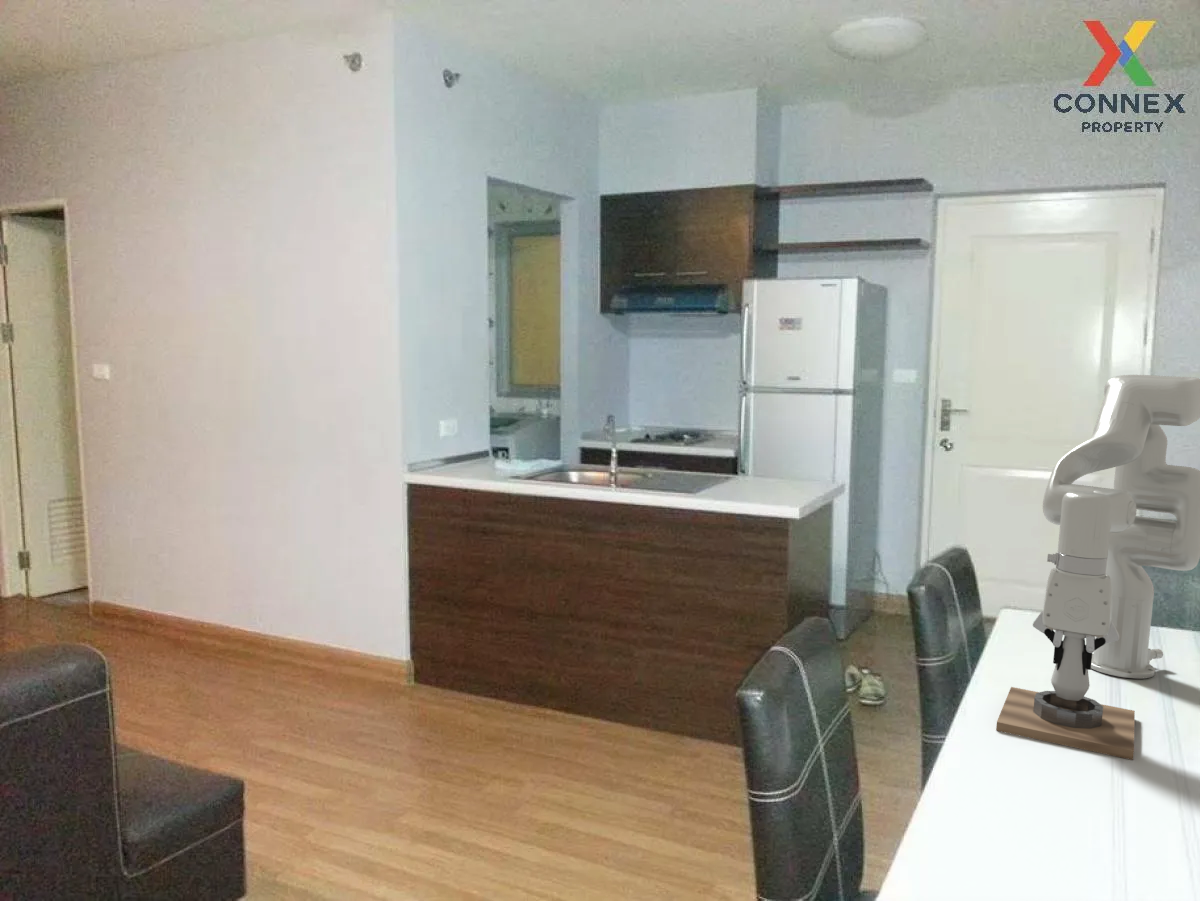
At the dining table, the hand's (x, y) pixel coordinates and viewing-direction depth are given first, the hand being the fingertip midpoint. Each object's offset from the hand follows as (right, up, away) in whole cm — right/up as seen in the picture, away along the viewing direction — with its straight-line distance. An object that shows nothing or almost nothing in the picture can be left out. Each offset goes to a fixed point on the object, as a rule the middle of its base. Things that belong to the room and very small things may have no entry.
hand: (1071, 669), depth 159 cm
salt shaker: (0, -5, +1) cm, 5 cm away
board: (0, -10, +1) cm, 10 cm away
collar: (0, -8, +1) cm, 8 cm away
